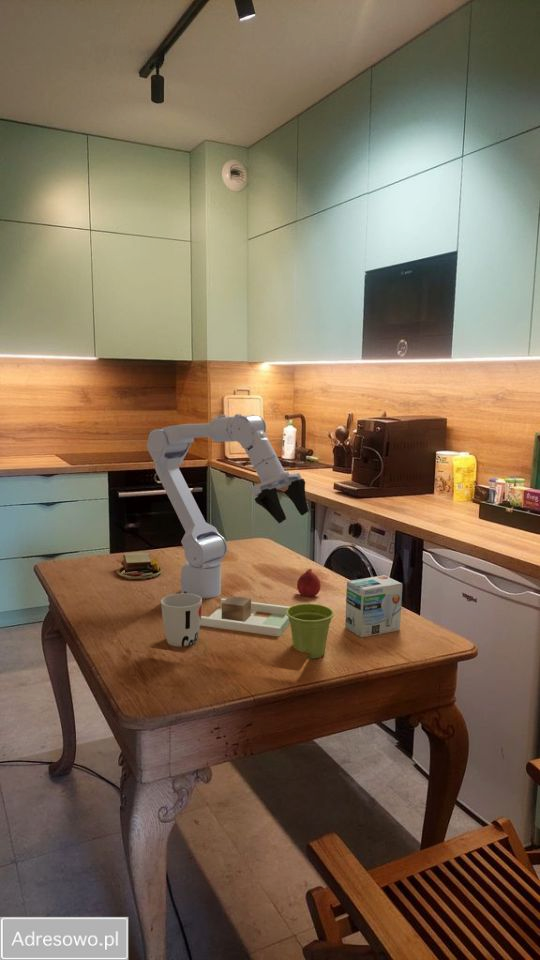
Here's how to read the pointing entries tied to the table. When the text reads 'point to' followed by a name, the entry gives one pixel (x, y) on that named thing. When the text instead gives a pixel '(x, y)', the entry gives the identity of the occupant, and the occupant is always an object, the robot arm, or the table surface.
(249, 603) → the block
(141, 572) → the toy sandwich meal
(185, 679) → the table surface
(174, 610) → the cup
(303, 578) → the onion
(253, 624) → the tray
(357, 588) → the light bulb box
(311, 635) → the plant pot
